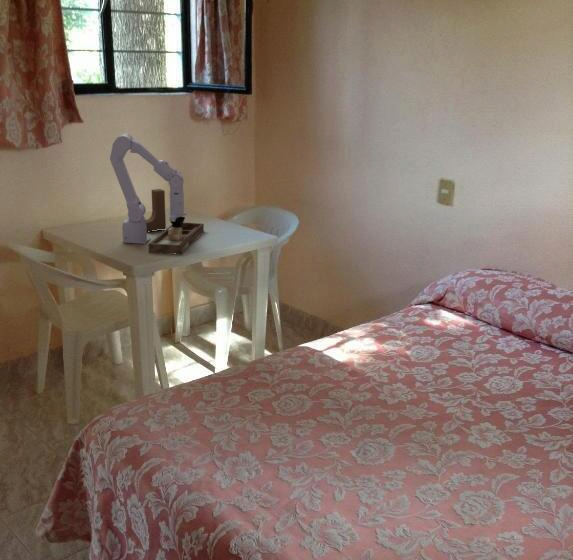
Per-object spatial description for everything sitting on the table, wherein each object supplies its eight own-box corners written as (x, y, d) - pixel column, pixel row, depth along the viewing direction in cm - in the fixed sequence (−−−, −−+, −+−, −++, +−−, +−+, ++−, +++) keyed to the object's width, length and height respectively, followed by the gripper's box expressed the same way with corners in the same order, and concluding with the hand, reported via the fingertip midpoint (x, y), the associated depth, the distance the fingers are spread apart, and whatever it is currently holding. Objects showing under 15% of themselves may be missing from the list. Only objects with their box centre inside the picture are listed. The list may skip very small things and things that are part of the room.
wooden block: (147, 232, 290) (145, 192, 284) (143, 230, 293) (141, 190, 287) (166, 230, 295) (164, 190, 289) (161, 228, 298) (160, 188, 292)
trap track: (149, 252, 262) (148, 243, 260) (175, 229, 296) (175, 221, 295) (180, 254, 260) (180, 245, 259) (203, 231, 295) (203, 223, 294)
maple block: (168, 240, 272) (168, 229, 270) (171, 237, 276) (171, 226, 275) (179, 240, 271) (178, 230, 270) (182, 237, 276) (181, 227, 274)
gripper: (181, 206, 265) (182, 239, 270) (190, 199, 279) (191, 230, 283) (164, 205, 266) (165, 238, 271) (174, 198, 280) (175, 229, 284)
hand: (177, 234), depth 277 cm, fingers closed
